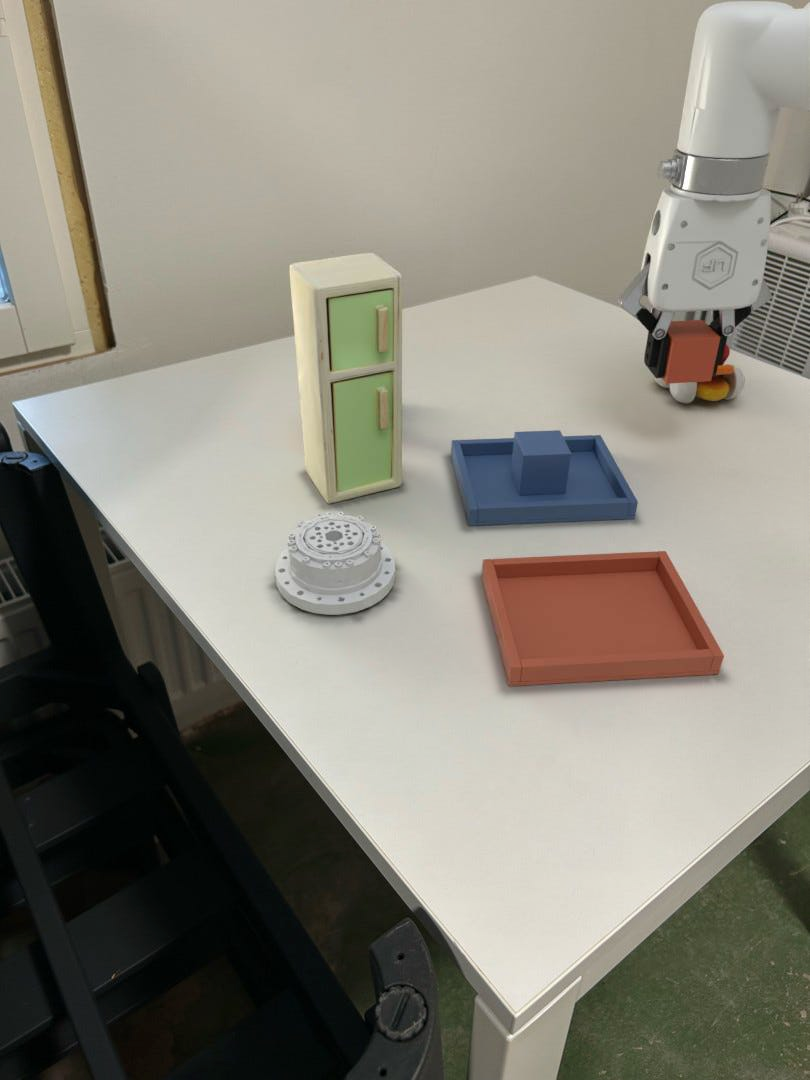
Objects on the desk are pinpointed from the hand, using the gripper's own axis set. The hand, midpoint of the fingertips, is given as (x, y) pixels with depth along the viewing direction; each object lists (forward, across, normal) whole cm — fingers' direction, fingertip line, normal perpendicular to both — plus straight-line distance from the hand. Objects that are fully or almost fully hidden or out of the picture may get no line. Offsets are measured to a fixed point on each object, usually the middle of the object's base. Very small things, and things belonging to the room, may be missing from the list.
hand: (681, 369), depth 81 cm
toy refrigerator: (+9, -33, -4) cm, 34 cm away
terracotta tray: (+9, -15, -26) cm, 31 cm away
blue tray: (+9, -15, -6) cm, 18 cm away
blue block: (+8, -15, -6) cm, 18 cm away
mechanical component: (+9, -35, -19) cm, 41 cm away
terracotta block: (0, 0, 0) cm, 0 cm away
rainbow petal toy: (+10, +8, +13) cm, 18 cm away
